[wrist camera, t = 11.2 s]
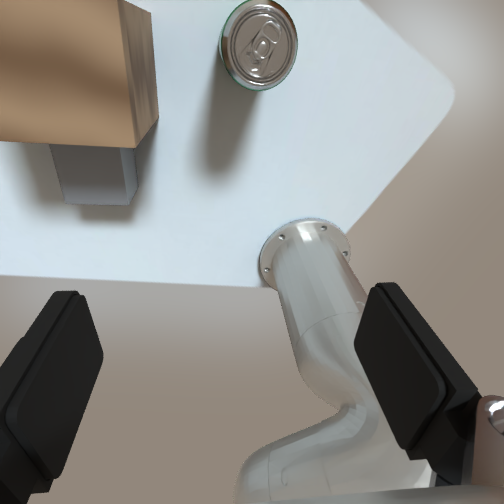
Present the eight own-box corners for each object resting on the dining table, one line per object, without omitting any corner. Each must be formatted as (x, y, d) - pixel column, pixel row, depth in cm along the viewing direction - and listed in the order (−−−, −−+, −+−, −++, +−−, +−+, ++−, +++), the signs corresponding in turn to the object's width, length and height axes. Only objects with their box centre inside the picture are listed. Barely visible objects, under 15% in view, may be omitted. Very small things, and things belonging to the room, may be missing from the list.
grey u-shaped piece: (138, 186, 36) (128, 205, 32) (83, 184, 35) (65, 203, 31) (119, 40, 28) (103, 39, 24) (48, 33, 27) (18, 31, 23)
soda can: (208, 53, 29) (205, 59, 19) (238, -2, 27) (252, -28, 17) (251, 88, 31) (269, 109, 21) (282, 39, 29) (318, 36, 19)
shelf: (158, 116, 32) (135, 147, 22) (32, 108, 30) (-51, 138, 21) (150, 13, 27) (116, -4, 18) (0, -3, 26) (-125, -31, 16)
